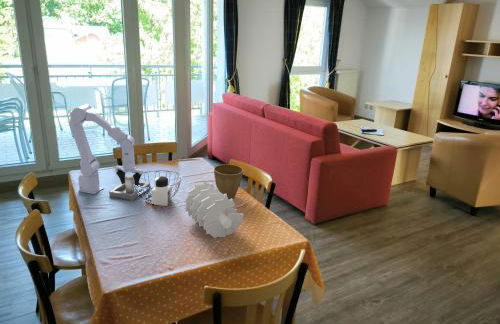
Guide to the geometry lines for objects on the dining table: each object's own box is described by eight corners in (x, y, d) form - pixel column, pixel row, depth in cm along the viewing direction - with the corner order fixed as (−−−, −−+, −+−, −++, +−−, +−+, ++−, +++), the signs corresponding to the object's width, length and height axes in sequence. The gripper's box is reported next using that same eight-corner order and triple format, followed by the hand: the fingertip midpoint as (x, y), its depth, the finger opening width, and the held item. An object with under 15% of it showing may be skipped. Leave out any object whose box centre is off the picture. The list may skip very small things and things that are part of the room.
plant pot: (229, 206, 186) (230, 177, 181) (207, 197, 194) (207, 168, 189) (247, 197, 198) (249, 169, 192) (225, 189, 206) (227, 161, 200)
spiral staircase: (216, 251, 157) (190, 222, 176) (250, 226, 163) (221, 200, 181) (201, 221, 146) (175, 194, 165) (237, 196, 152) (208, 172, 171)
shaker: (123, 192, 193) (123, 177, 191) (128, 189, 197) (128, 174, 195) (131, 193, 192) (130, 179, 190) (136, 190, 196) (135, 176, 194)
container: (171, 199, 190) (171, 175, 186) (167, 206, 183) (166, 181, 179) (156, 198, 191) (156, 174, 186) (151, 204, 184) (150, 180, 179)
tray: (109, 196, 189) (109, 191, 188) (128, 184, 204) (128, 179, 203) (132, 201, 186) (132, 195, 185) (150, 188, 201) (149, 182, 200)
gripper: (111, 160, 187) (112, 185, 192) (137, 164, 184) (138, 190, 188) (119, 156, 194) (120, 180, 198) (144, 160, 190) (145, 184, 195)
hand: (130, 184), depth 194 cm, fingers open, 7 cm apart
